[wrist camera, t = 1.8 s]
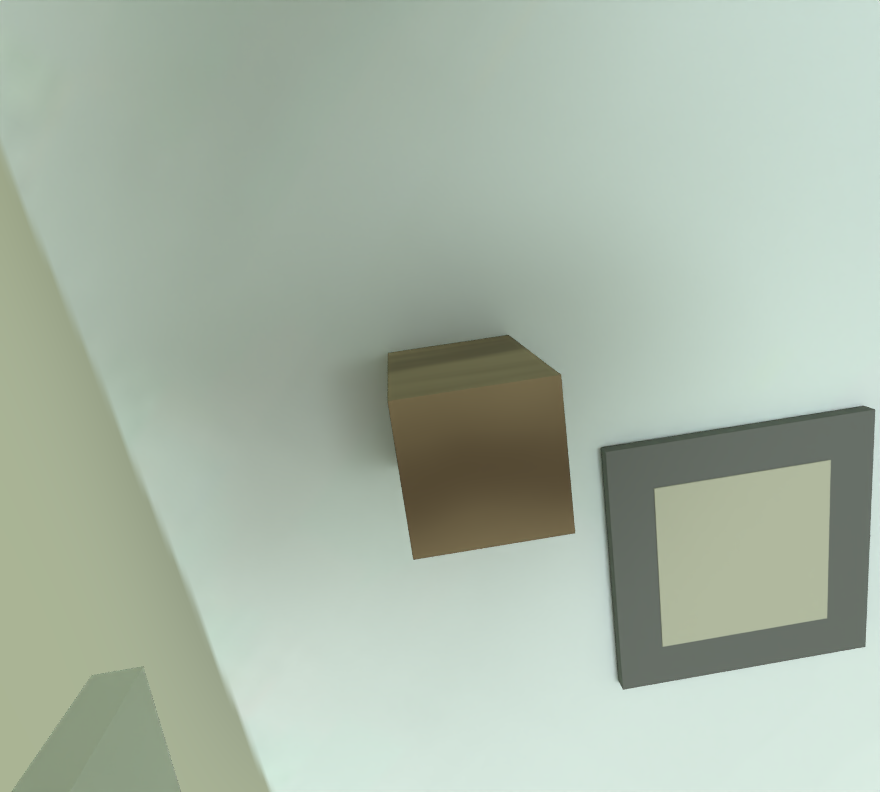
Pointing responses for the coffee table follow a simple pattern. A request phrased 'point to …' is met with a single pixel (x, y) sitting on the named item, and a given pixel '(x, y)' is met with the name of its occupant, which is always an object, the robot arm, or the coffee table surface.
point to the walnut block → (479, 445)
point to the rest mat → (739, 545)
